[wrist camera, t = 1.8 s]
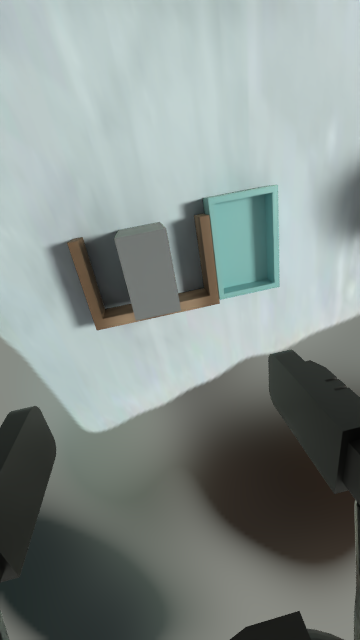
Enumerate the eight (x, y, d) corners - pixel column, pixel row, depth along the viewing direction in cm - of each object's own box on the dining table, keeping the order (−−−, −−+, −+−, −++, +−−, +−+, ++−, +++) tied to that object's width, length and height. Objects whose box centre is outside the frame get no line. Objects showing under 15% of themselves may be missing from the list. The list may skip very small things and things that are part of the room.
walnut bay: (202, 213, 31) (209, 215, 28) (212, 295, 35) (219, 303, 32) (73, 238, 30) (67, 243, 27) (99, 319, 34) (96, 330, 31)
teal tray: (267, 185, 30) (277, 184, 28) (270, 280, 35) (279, 286, 33) (202, 198, 30) (208, 198, 28) (214, 293, 35) (219, 299, 32)
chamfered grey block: (159, 221, 30) (166, 228, 24) (172, 289, 34) (181, 310, 27) (118, 230, 30) (114, 238, 24) (135, 297, 34) (135, 320, 27)
